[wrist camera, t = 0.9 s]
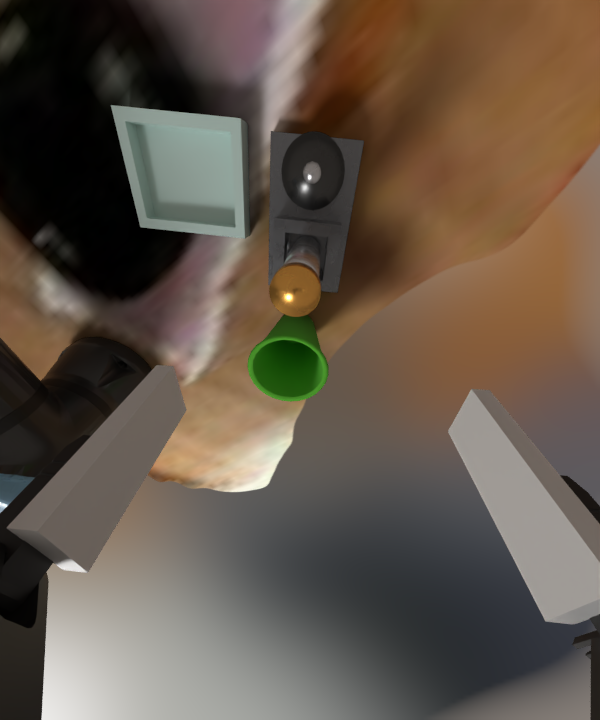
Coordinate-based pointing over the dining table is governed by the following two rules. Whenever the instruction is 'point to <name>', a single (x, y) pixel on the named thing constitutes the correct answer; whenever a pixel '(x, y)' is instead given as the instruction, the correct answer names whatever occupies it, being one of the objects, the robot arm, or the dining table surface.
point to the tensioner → (312, 198)
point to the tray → (186, 170)
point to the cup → (289, 361)
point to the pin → (298, 279)
